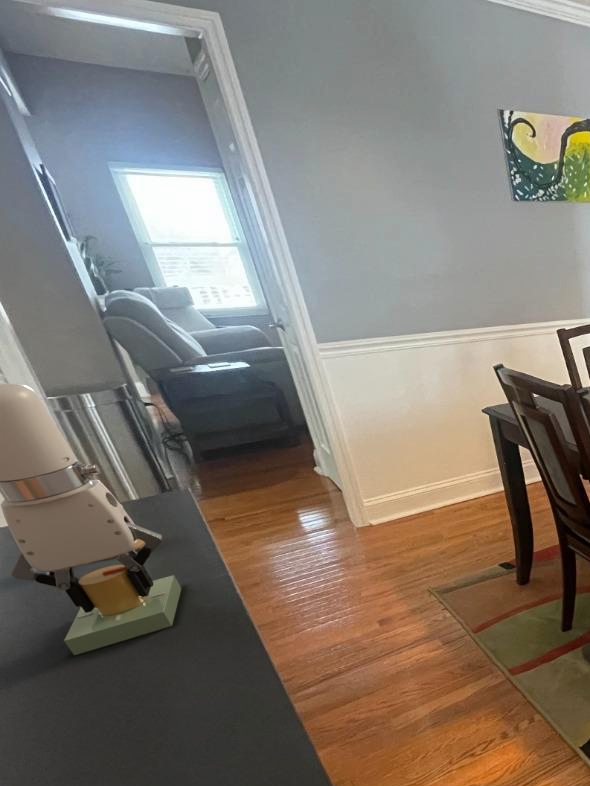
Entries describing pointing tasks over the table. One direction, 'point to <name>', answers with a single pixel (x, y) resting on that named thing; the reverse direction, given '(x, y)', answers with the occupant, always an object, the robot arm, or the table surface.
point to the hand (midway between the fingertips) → (119, 598)
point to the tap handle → (111, 590)
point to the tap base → (126, 619)
